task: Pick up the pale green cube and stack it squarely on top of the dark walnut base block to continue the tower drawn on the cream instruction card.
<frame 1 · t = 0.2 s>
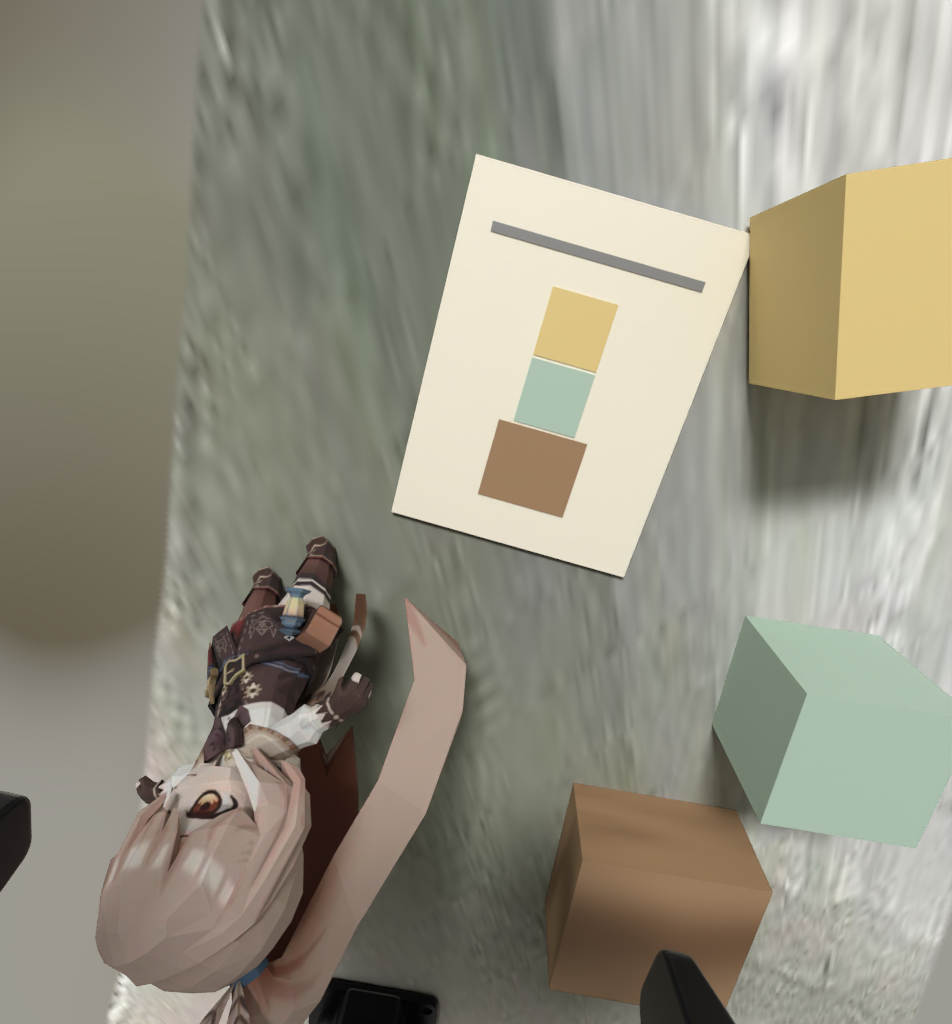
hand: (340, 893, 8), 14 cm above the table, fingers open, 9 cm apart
toy: (353, 634, 23), on the table
pale green cube: (791, 680, 22), on the table
base block: (635, 853, 26), on the table
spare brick: (830, 292, 18), on the table, touching instruction card
instruction card: (556, 386, 20), on the table
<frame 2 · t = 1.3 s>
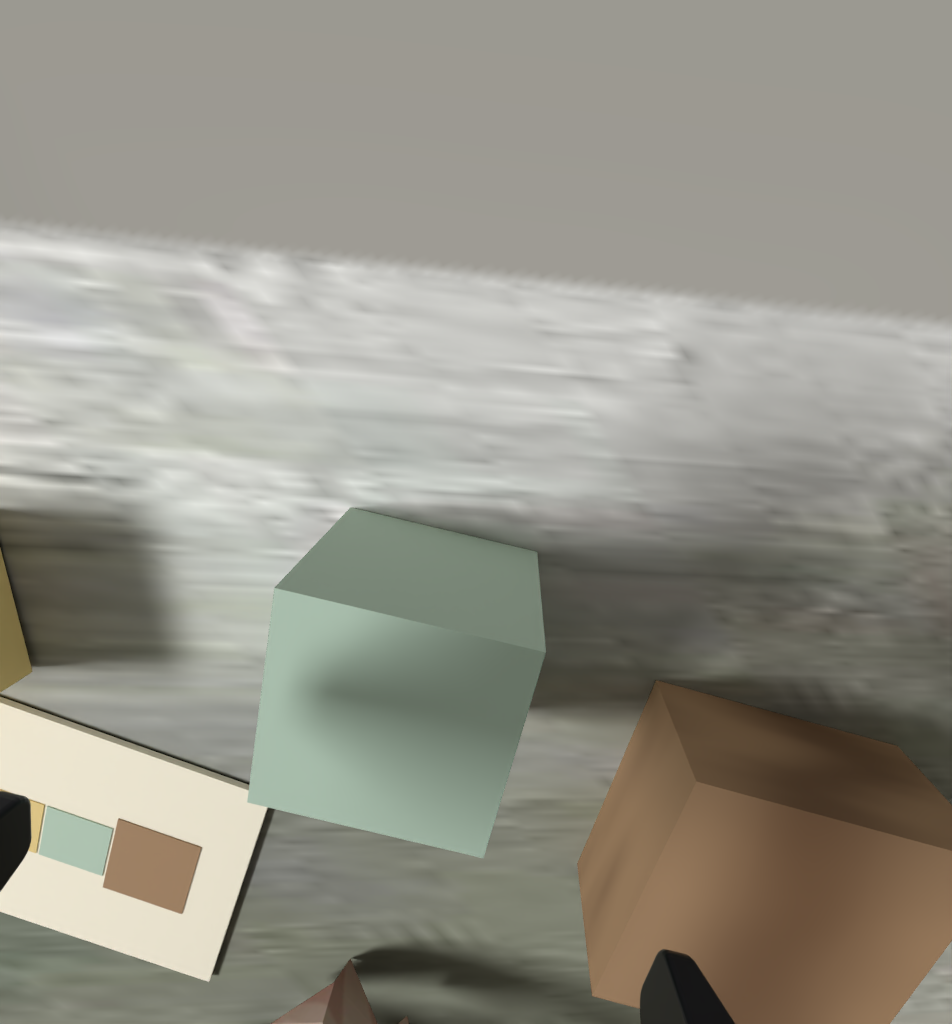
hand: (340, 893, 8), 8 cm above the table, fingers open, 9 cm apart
pale green cube: (425, 611, 16), on the table
base block: (724, 802, 17), on the table
instruction card: (68, 831, 19), on the table
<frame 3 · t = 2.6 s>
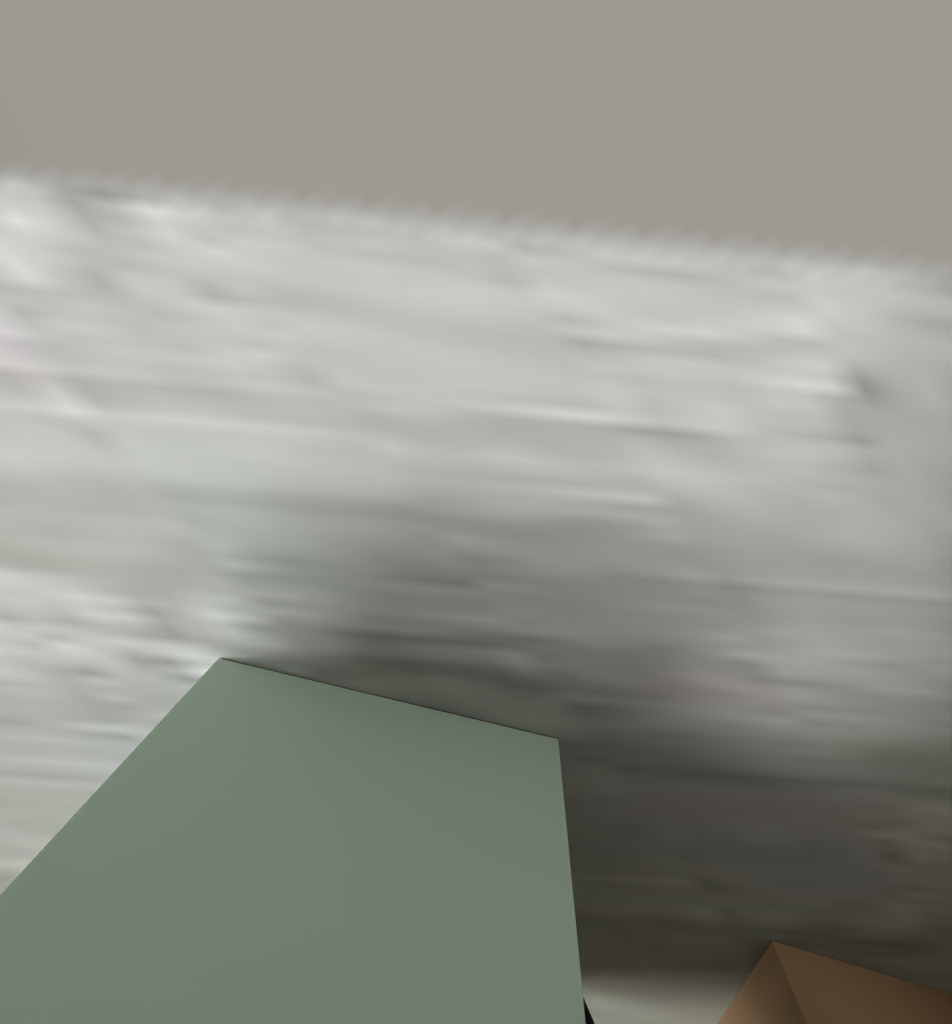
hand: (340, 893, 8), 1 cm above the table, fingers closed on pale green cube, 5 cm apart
pale green cube: (360, 830, 9), on the table, touching gripper
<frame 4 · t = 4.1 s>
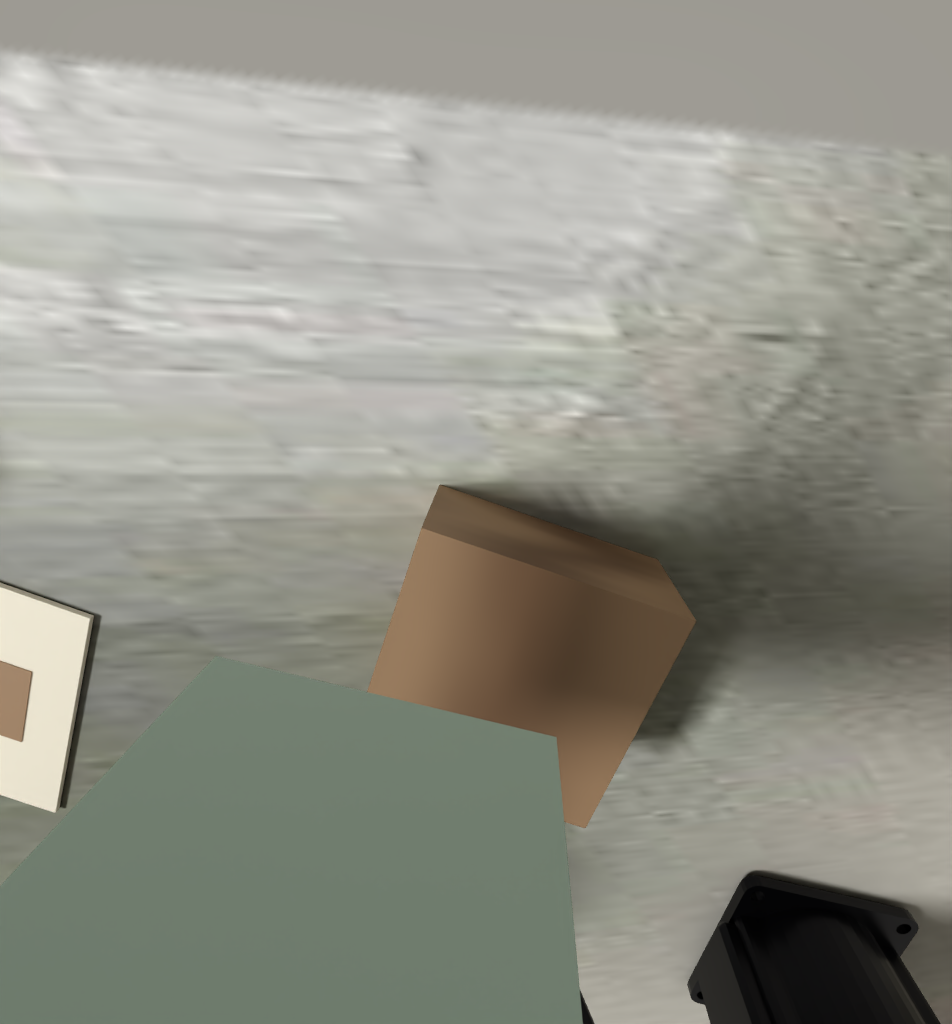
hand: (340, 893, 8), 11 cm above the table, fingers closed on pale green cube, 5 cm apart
pale green cube: (358, 828, 9), point 9 cm above the table, touching gripper
base block: (510, 615, 19), on the table
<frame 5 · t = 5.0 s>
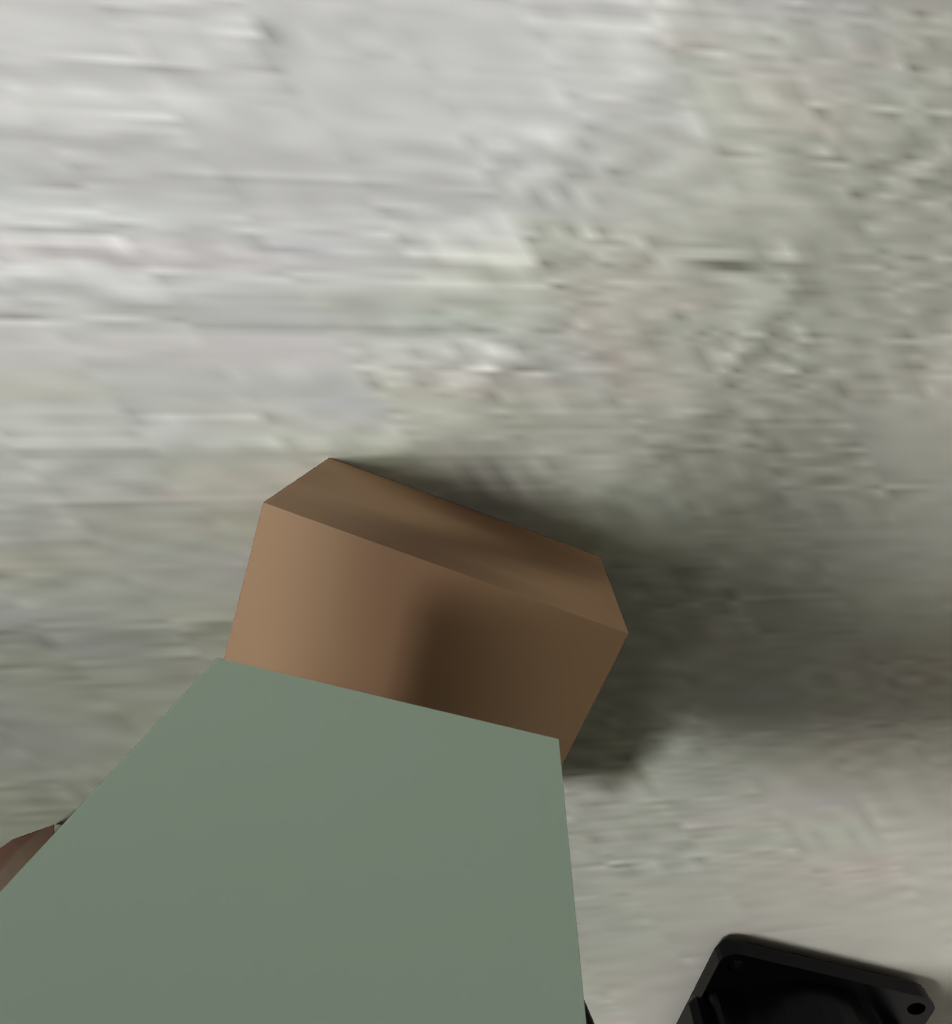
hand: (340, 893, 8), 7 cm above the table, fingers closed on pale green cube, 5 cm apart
toy: (87, 908, 19), on the table
pale green cube: (360, 830, 9), point 6 cm above the table, touching gripper
base block: (423, 622, 15), on the table
when the fingers open (6 cm above the table, at t = 5.6 s): pale green cube drops 1 cm, point 4 cm above the table.
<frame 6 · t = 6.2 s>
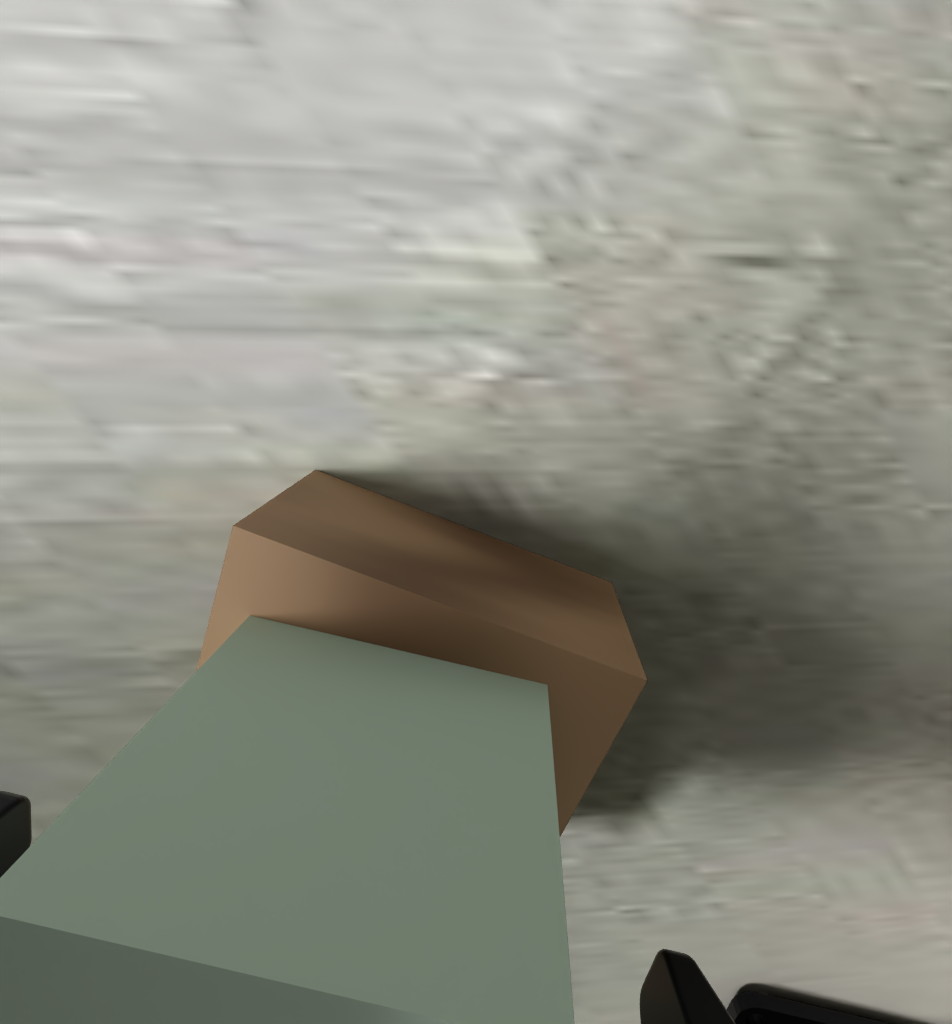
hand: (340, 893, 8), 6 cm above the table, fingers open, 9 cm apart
pale green cube: (374, 770, 10), point 4 cm above the table
base block: (416, 649, 14), on the table
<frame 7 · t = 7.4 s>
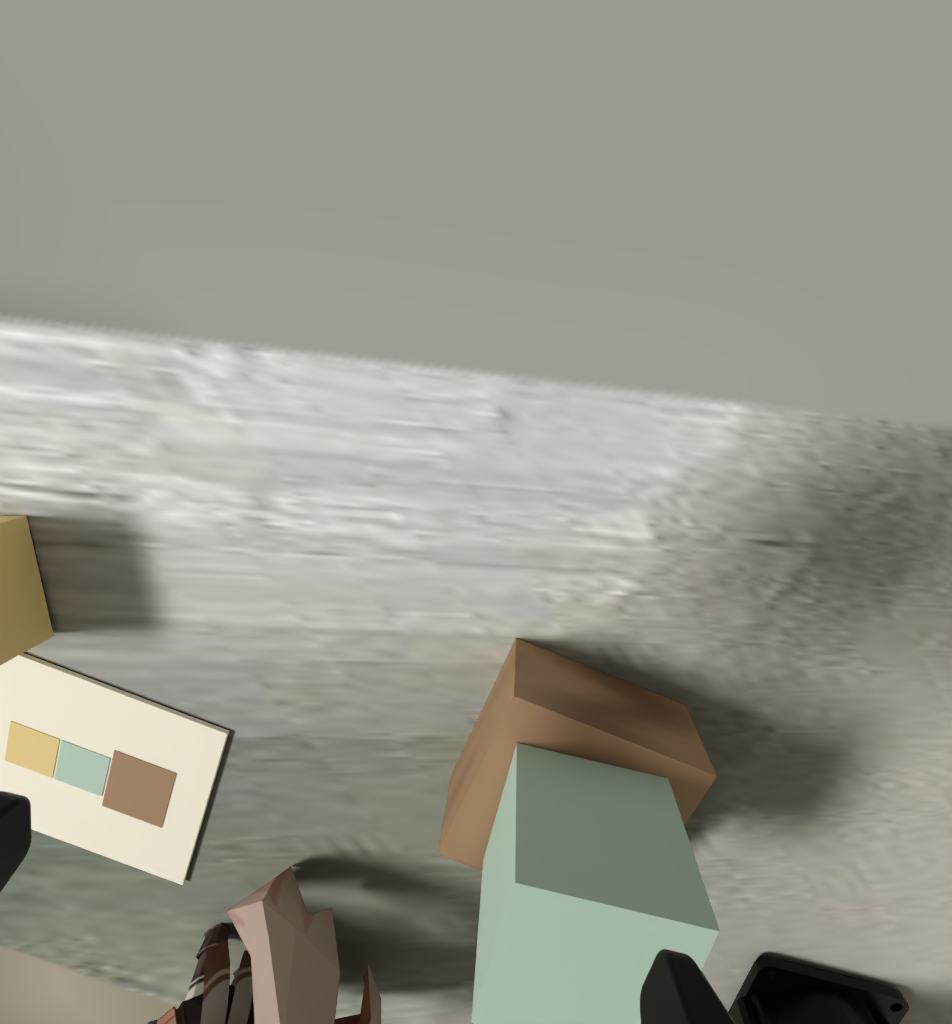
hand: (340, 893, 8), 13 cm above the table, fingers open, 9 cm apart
toy: (301, 925, 27), on the table
pale green cube: (572, 820, 19), point 4 cm above the table, touching base block
base block: (563, 738, 23), on the table, touching pale green cube
instruction card: (77, 761, 25), on the table
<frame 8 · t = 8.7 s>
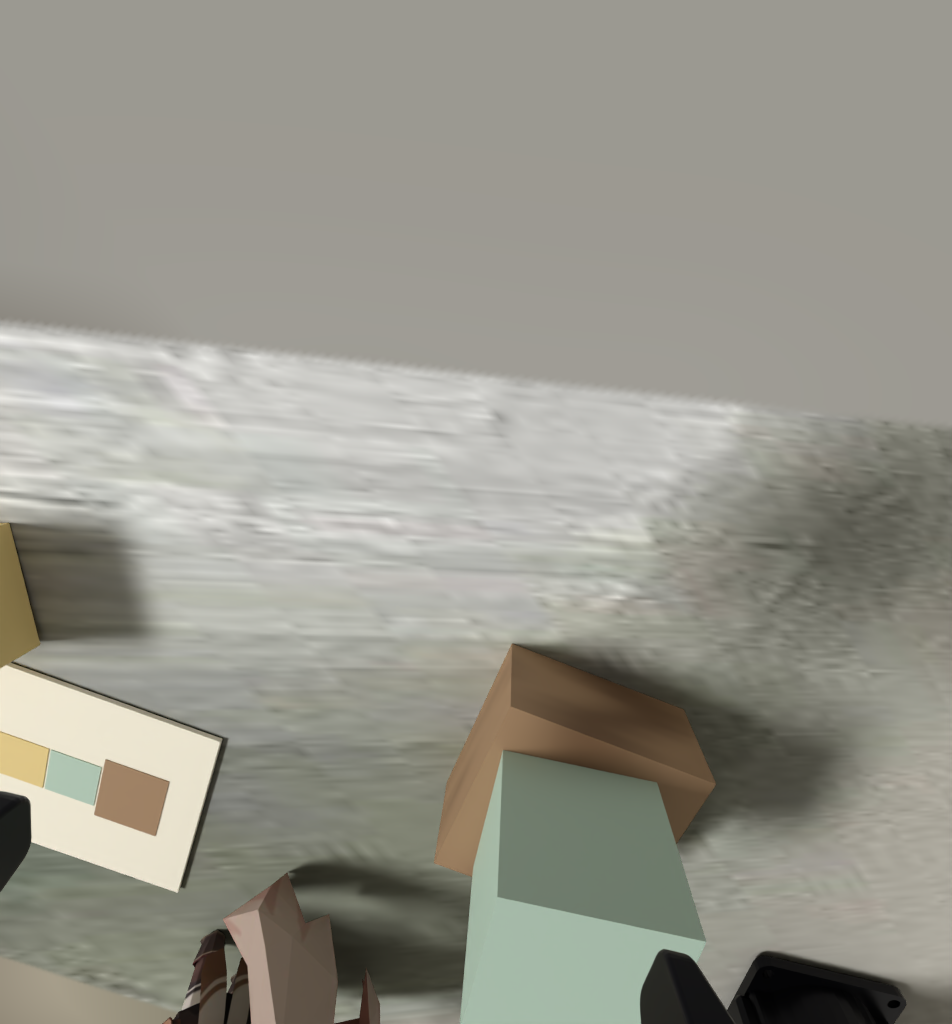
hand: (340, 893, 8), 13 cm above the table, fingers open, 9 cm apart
toy: (299, 930, 27), on the table
pale green cube: (561, 826, 19), point 4 cm above the table
base block: (560, 743, 23), on the table
instruction card: (67, 771, 25), on the table
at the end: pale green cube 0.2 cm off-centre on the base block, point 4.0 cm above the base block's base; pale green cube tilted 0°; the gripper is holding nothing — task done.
